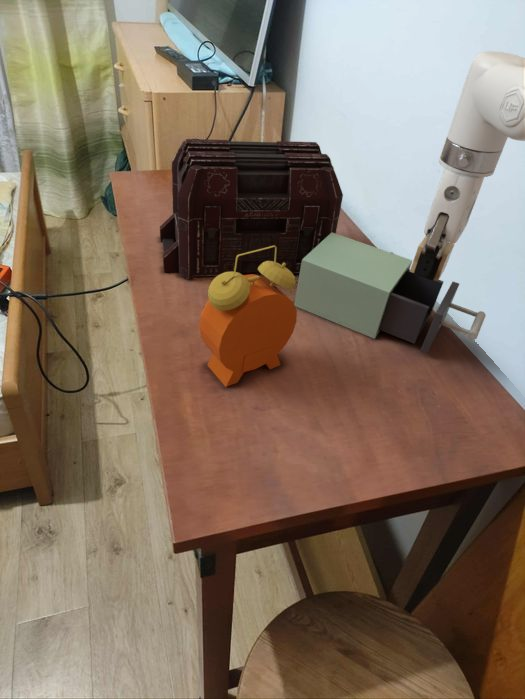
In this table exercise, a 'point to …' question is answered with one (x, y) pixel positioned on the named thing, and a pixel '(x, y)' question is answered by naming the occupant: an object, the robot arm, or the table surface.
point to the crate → (247, 205)
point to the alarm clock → (247, 319)
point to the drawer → (422, 310)
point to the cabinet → (349, 282)
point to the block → (444, 255)
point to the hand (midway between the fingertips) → (428, 268)
